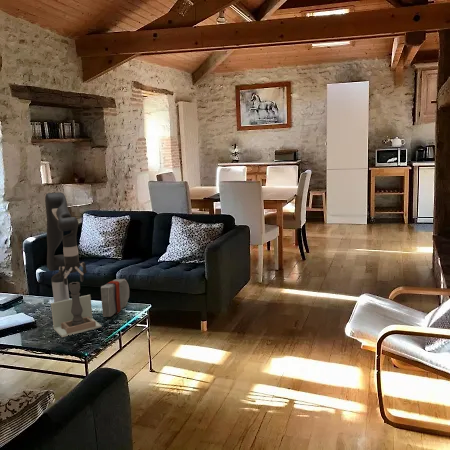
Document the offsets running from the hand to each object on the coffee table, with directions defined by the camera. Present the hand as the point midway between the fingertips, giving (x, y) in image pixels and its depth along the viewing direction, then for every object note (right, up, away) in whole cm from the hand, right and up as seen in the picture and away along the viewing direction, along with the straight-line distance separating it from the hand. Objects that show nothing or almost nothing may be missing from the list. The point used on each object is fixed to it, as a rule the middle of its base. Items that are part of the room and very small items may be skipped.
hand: (74, 283), depth 277 cm
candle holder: (+1, -25, +5) cm, 26 cm away
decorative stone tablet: (+17, -20, +31) cm, 41 cm away
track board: (0, -26, +7) cm, 26 cm away
